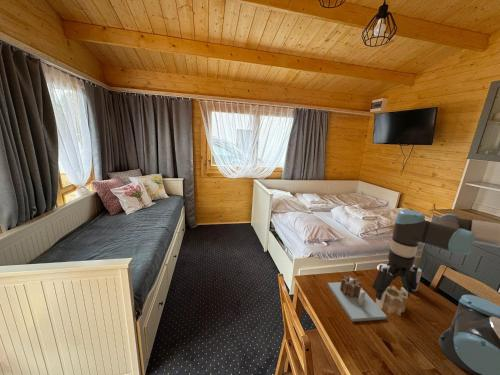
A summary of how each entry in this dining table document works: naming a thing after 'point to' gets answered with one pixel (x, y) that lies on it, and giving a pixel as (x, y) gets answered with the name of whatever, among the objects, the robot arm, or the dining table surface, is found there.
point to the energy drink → (418, 278)
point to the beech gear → (394, 300)
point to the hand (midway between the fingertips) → (390, 305)
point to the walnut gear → (350, 287)
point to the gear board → (357, 304)
